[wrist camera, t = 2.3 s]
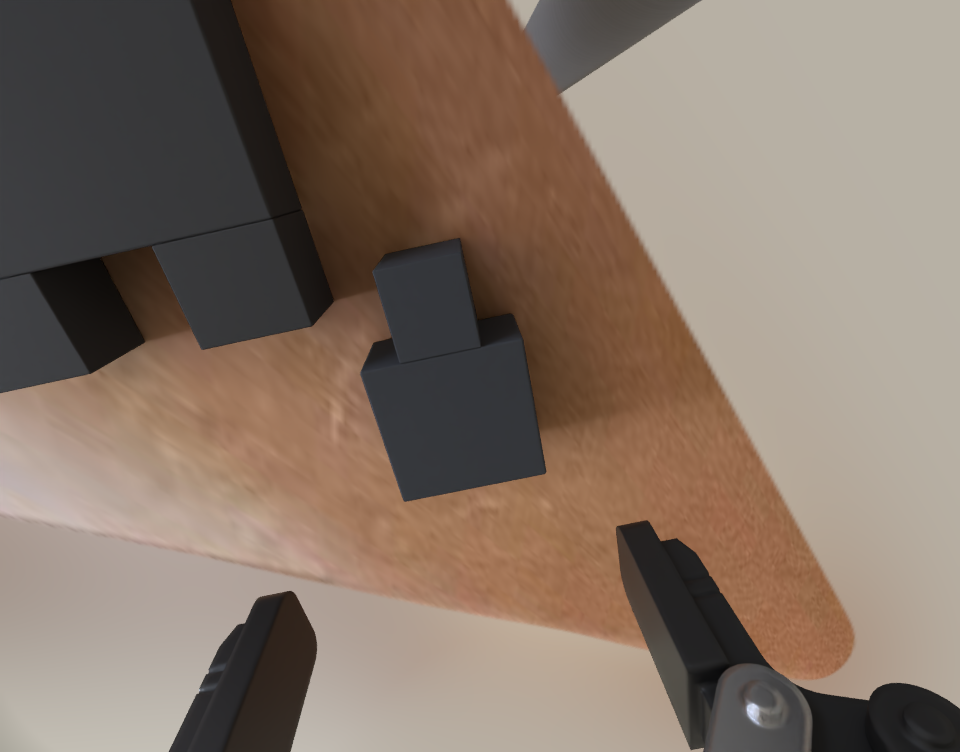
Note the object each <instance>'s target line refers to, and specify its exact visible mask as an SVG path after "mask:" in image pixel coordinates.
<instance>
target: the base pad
mask: <svg viewBox="0 0 960 752" xmlns="http://www.w3.org/2000/svg"><path fill="white" fill-rule="evenodd" d="M152 245H153V246H152ZM148 246H152V248H153V250H154V252H155V254H156V257H157V259H158V261H159V263H160V265H161V267H162V269H163V271H164V273H165V275H166V277H167V279H168V281H169V283H170V285H171V288H172V290H173V292H174V294H175V296H176V298H177V300H178V302H179V304H180V306H181V308H182V310H183V312H184V314H185V316H186V319H187V321H188V323H189V325H190V327H191V329H192V331H193V333H194V335H195V337H196V339H197V341H198V343H199V345H200V347H201V349H202V350H204V349H208V348H213V347H218V346H223V345H227V344H232V343H237V342H241V341H246V340H251V339H255V338H260V337H265V336H269V335H274V334H279V333H283V332H288V331H293V330H297V329H302V328H307V327H311V326H313V325H314V324H315V323H316V321H317V320H318V319H319V318H320V317H321V316H322V315H323V313H324V312H325V311H326V310H327V309H328V308H329V307H330V305H331V304H332V303H333V302H334V300H333V297H332V294H331V292H330V289H329V286H328V283H327V280H326V277H325V274H324V271H323V268H322V265H321V262H320V259H319V256H318V254H317V251H316V248H315V245H314V242H313V239H312V236H311V233H310V230H309V227H308V224H307V221H306V218H305V216H304V213H303V211H302V210H301V205H300V202H299V199H298V196H297V193H296V190H295V187H294V185H293V182H292V179H291V176H290V173H289V170H288V167H287V164H286V161H285V158H284V155H283V152H282V150H281V147H280V144H279V141H278V138H277V135H276V132H275V129H274V126H273V123H272V120H271V117H270V114H269V112H268V109H267V106H266V103H265V100H264V97H263V94H262V91H261V88H260V85H259V82H258V79H257V77H256V74H255V71H254V68H253V65H252V62H251V59H250V56H249V53H248V50H247V47H246V44H245V41H244V39H243V36H242V33H241V30H240V27H239V24H238V21H237V18H236V15H235V12H234V9H233V6H232V4H231V1H230V0H0V393H3V392H8V391H12V390H17V389H22V388H26V387H31V386H36V385H40V384H45V383H50V382H55V381H59V380H64V379H69V378H73V377H78V376H83V375H87V374H91V373H93V372H95V371H96V370H98V369H100V368H102V367H103V366H105V365H107V364H109V363H110V362H112V361H114V360H116V359H117V358H119V357H121V356H122V355H124V354H126V353H128V352H129V351H131V350H133V349H135V348H136V347H138V346H140V345H141V344H143V343H145V341H144V339H143V337H142V336H141V334H140V332H139V330H138V328H137V326H136V324H135V323H134V321H133V319H132V317H131V315H130V313H129V311H128V309H127V308H126V306H125V304H124V302H123V300H122V298H121V296H120V294H119V293H118V291H117V289H116V287H115V285H114V283H113V281H112V279H111V278H110V276H109V274H108V272H107V270H106V268H105V266H104V264H103V263H102V261H101V259H100V257H103V256H108V255H112V254H116V253H121V252H125V251H130V250H134V249H139V248H143V247H148Z"/></svg>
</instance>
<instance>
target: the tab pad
mask: <svg viewBox="0 0 960 752" xmlns="http://www.w3.org/2000/svg"><path fill="white" fill-rule="evenodd" d="M373 276H374V279H375V282H376V286H377V289H378V292H379V296H380V299H381V302H382V306H383V309H384V312H385V316H386V319H387V322H388V326H389V329H390V332H391V336H392V339H389V340H384V341H379V342H375V343H373V345H372V348H371V350H370V352H369V354H368V357H367V359H366V361H365V363H364V365H363V368H362V370H361V372H360V375H361V377H362V380H363V383H364V386H365V389H366V392H367V395H368V398H369V401H370V404H371V407H372V410H373V413H374V416H375V419H376V422H377V424H378V427H379V430H380V433H381V436H382V439H383V442H384V445H385V448H386V451H387V454H388V457H389V460H390V463H391V466H392V468H393V471H394V474H395V477H396V480H397V483H398V486H399V489H400V492H401V495H402V498H403V500H404V501H405V502H406V501H411V500H416V499H421V498H426V497H431V496H436V495H441V494H446V493H451V492H456V491H461V490H466V489H471V488H476V487H482V486H487V485H492V484H497V483H502V482H507V481H512V480H517V479H522V478H527V477H532V476H537V475H542V474H545V473H546V467H545V461H544V455H543V450H542V444H541V438H540V433H539V427H538V421H537V416H536V410H535V404H534V398H533V393H532V387H531V381H530V376H529V370H528V364H527V359H526V353H525V347H524V342H523V338H522V336H521V333H520V331H519V328H518V326H517V323H516V321H515V318H514V315H513V314H507V315H502V316H497V317H492V318H488V319H483V320H477V315H476V311H475V306H474V301H473V297H472V292H471V287H470V283H469V278H468V273H467V269H466V264H465V260H464V255H463V250H462V246H461V241H460V238H457V239H453V240H448V241H443V242H439V243H434V244H430V245H425V246H421V247H416V248H411V249H407V250H402V251H398V252H393V253H389V254H385V255H384V257H383V258H382V259H381V261H380V262H379V263H378V265H377V266H376V267H375V269H374V270H373Z"/></svg>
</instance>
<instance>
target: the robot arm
mask: <svg viewBox="0 0 960 752" xmlns="http://www.w3.org/2000/svg"><path fill="white" fill-rule="evenodd" d="M616 535H617V544H618V553H619V562H620V571H621V577H622V581H623V585H624V588H625V592H626V595H627V598H628V600H629V603H630V605H631V607H632V610H633V612H634V615H635V617H636V619H637V622H638V624H639V627H640V629H641V631H642V634H643V636H644V639H645V641H646V644H647V646H648V648H649V651H650V653H651V656H652V658H653V660H654V662H655V665H656V668H657V670H658V672H659V675H660V677H661V679H662V682H663V684H664V687H665V689H666V691H667V694H668V696H669V699H670V701H671V704H672V706H673V708H674V711H675V713H676V715H677V718H678V721H679V723H680V725H681V727H682V730H683V733H684V735H685V737H686V740H687V742H688V744H689V747H690V749H691V750H693V749H699V748H704V751H703V752H960V709H959V708H958V707H957V706H955V705H954V704H953V703H951V702H950V701H948V700H947V699H945V698H943V697H941V696H939V695H938V694H935V693H934V692H931V691H929V690H927V689H924V688H921V687H918V686H915V685H910V684H904V683H890V684H885V685H882V686H880V687H878V688H877V689H876V690H875V691H873V693H872V695H871V696H870V699H869V700H862V699H855V698H848V697H841V696H834V695H827V694H821V693H816V692H813V691H810V690H807V689H804V688H802V687H800V686H797V685H796V684H794V683H792V682H791V681H790V680H789V679H787V678H786V677H785V676H783V675H782V674H780V673H778V672H777V671H775V670H774V669H773V668H772V667H771V666H770V665H769V664H768V663H767V662H766V660H765V659H764V658H763V656H762V655H761V653H760V652H759V650H758V649H757V647H756V646H755V644H754V642H753V641H752V639H751V638H750V636H749V635H748V633H747V632H746V630H745V628H744V627H743V625H742V624H741V622H740V621H739V619H738V618H737V616H736V614H735V613H734V611H733V610H732V608H731V607H730V605H729V604H728V602H727V601H726V599H725V597H724V596H723V594H722V593H720V591H719V588H718V587H717V585H716V583H715V582H714V580H713V579H712V577H711V576H709V573H708V571H707V569H706V568H705V566H704V565H703V563H702V562H701V560H700V559H699V557H698V555H697V554H696V553H695V552H694V551H693V550H691V549H690V548H689V547H687V546H686V545H685V544H683V543H682V542H681V541H679V540H678V539H677V538H676V539H671V540H666V541H660V540H659V538H658V536H657V534H656V533H655V531H654V529H653V527H652V526H651V524H650V523H649V522H648V521H647V520H645V521H640V522H635V523H631V524H626V525H621V526H617V527H616ZM316 654H317V642H316V636H315V632H314V630H313V628H312V626H311V624H310V622H309V620H308V618H307V616H306V614H305V612H304V610H303V608H302V606H301V604H300V602H299V600H298V598H297V597H296V595H295V594H294V592H292V591H287V592H282V593H277V594H272V595H267V596H262V597H259V598H258V599H257V600H256V601H255V603H254V605H253V607H252V609H251V612H250V614H249V616H248V618H247V620H246V623H245V624H239V625H237V626H236V628H235V629H234V630H233V631H232V632H231V634H230V635H229V636H228V637H227V639H226V640H225V641H224V642H223V643H222V644H221V646H220V647H219V649H218V651H217V653H216V655H215V657H214V659H213V662H212V664H211V666H210V668H209V673H208V674H206V676H205V678H204V680H203V682H202V684H201V687H200V688H199V690H200V691H199V694H197V695H196V697H195V699H194V701H193V703H192V705H191V707H190V709H189V711H188V713H187V715H186V717H185V719H184V722H183V724H182V726H181V728H180V730H179V732H178V734H177V736H176V738H175V740H174V742H173V744H172V746H171V748H170V750H169V752H290V751H291V748H292V744H293V740H294V737H295V732H296V729H297V726H298V722H299V718H300V715H301V711H302V707H303V704H304V700H305V697H306V693H307V689H308V685H309V682H310V678H311V675H312V671H313V668H314V664H315V660H316Z"/></svg>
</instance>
